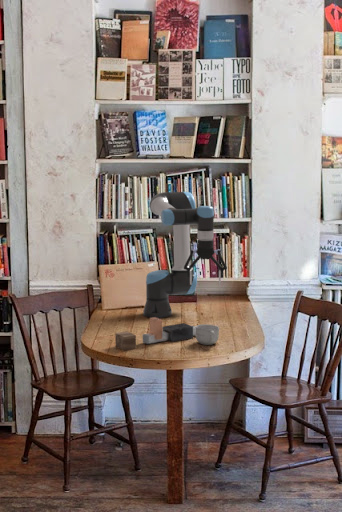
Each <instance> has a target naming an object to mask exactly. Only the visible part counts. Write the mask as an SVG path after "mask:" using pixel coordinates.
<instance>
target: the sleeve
mask: <svg viewBox="0 0 342 512" xmlns="http://www.w3.org/2000/svg"><path fill="white" fill-rule="evenodd" d="M193 326H194V325H191V324H190V325H189V324H188V323H184V322H183V323H177V324H175V323H174V324H169V325H165V326H163V325H162V331H166V330H167V331H169V332H170V340H169V342H170V343H174V342H179V341H185V340H190V339H193V338H194V336H193Z"/></svg>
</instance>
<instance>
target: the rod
mask: <svg viewBox="0 0 342 512" xmlns="http://www.w3.org/2000/svg"><path fill="white" fill-rule="evenodd" d="M192 326H193V337H194V336H196V326H194V325H192ZM162 327H163V319H162V318H156V317H153V318H150V317H149V333H143V334H142V343H143V344H146V345H150V344H155V343H159V342H166V341H170V332H169V331H167V330H166V331H162Z"/></svg>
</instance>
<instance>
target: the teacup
mask: <svg viewBox="0 0 342 512" xmlns="http://www.w3.org/2000/svg"><path fill="white" fill-rule="evenodd" d="M195 327H196V335H195V340H196V341H197V342H198V343H199V344H200V345H204V346H210V345H211V346H213V345H214V344H216V342H218V341H219V336H220V335H219V334H220V327H219V326H218V325H214V324H204V323H203V324H202V323H201V324H198V325H196V326H195Z"/></svg>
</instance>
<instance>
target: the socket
mask: <svg viewBox="0 0 342 512" xmlns="http://www.w3.org/2000/svg"><path fill="white" fill-rule="evenodd" d="M114 334H115V335H114V337H115V340H114V341H115V347H116V348H118V349H120V350H122V351H123V352H124V351H129V350H130V351H131V350H135V349H137V336H136V334H134V333H132V332H130V331H126V330H125V331H121V332H120V331H119V332H115V333H114Z"/></svg>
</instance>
